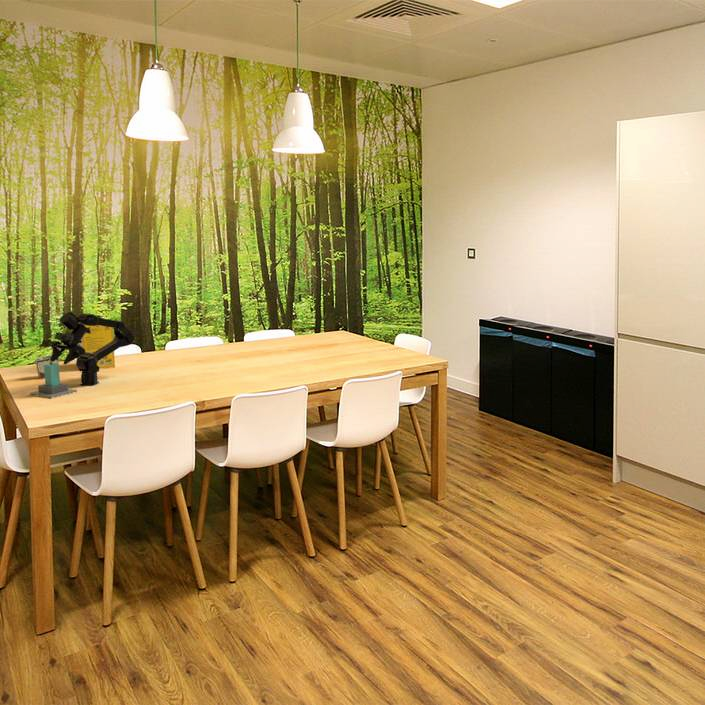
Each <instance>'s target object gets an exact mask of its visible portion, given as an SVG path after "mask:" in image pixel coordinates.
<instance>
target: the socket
mask: <svg viewBox="0 0 705 705" xmlns="http://www.w3.org/2000/svg"><path fill="white" fill-rule="evenodd" d="M68 385H69V383H65V382H63V383H62V382H60V385H57V386H53V387H50V386H45V383H44V384H40V385H37V386H38V387H37V389H38V390H35V391H31V392H29V395H30V394H32V395H31V396H34V395H38V396H37V397H40V396H44V397H43V398H45V397H49V398H48V399H53V398H52V397H55V398H58V397H57V396H59V397H62V396H61V395H63V396H66V395H65V394H67V395H70V394H69V393H71V394H74V393H73V392H75V393H77V392H78V390H77V389H76V388H75V389H73V388H69V386H68Z"/></svg>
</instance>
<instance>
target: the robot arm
mask: <svg viewBox="0 0 705 705" xmlns="http://www.w3.org/2000/svg"><path fill="white" fill-rule="evenodd" d="M103 318H104V317H103ZM103 318H102V317H99V315H95V314H94V313H93V314H92V313H85V312H83V313H80V314H79V315H78V316H76V315H75V314H74V312H72V311H68V312H66V313H64V314H63V315H61V317H60V318H59V322H60V324H62V325H63V327H65V328H66V329H68V330H70V332H67V331H66V332H57V331H56V332H55V335H54V337H53V338H54V340H52V341H51V342H50V343H49V346H50V347H51V349H52V353H51V355H50V356H51V360H50V361H55V360H56V359H57V358H58V357H59V358H60V357H61V355H63V353H64V352H65V350H67V351H68V353H67V356H66V357H65V359H64V361H63V362H62V363H63V365H67V364H69V363H70V362H72V361H74V360H76V361H75V365H76V367H77V368H78V370H79V372H81V374H80V380H81V383H80V385H81V386H95V385H97V384H99V383H100V381H98V372H100V370H101V369H100V367H99V366H98V365H97V363H98V361H99V360H101V359H102V358H104V357H105V356H107V355H109V354H110V353H112V352H113V351H114V352H115V351H116V350H118V349H119V348H123V347H126V346H127V347H128V346H130V345H132V344H133V343H134V340H135V336H134V334H133V333H132V332H131V330H130V329H129V328H128V327H127V326H126V325H125V322H123V321H121V320H113V319H107V318H105V319H103ZM84 325H87V326H97V325H100V326H106V327H112V328H113V335H114V336H113V341H111V342H110V343H108V344H106V345H105V346H103V347H102V348H100V349H98V350H97V351H95V352H94V353H87V352H85V349H84V348H83V347H82V346H80V345H79V343H82V341H81V339H82V338H83V336H84V335H85V333H88V334H90V333H91V332H90V328H86V327H85V326H84ZM78 357H79V358H78ZM77 358H78V359H77Z"/></svg>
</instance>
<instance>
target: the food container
mask: <svg viewBox="0 0 705 705" xmlns="http://www.w3.org/2000/svg"><path fill="white" fill-rule="evenodd" d="M51 356H52V355H48V356H47V355H46V356H40V357H36V358H35V360H34V364H35V365H36V369H37V370H36V371H37V375H38V379H39V378H40V379H39V380H42V379H41V378H44V379H45V373H44V365H46V364H50V360H51ZM59 361H60V356H59V357H58V358H57V359H56V360H55V361H53V363H54V364H59Z"/></svg>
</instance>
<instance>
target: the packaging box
mask: <svg viewBox="0 0 705 705" xmlns="http://www.w3.org/2000/svg"><path fill="white" fill-rule="evenodd" d="M103 319H106V318H105V317H103ZM84 326H85V327H86V328H90V332H91V333H90V334H88V333H85V335H84V336H83V338H82V339H81V341H82V343H79V345H80V346H82V347H83V348H84V349H85V352H87V353H94V352H95V351H97V350H98V349H100V348H102V347H103V346H105V345H106V344H108V343H110V342H111V341H113V340H114V329H113V328H112V327H106V326H100V325H97V326H87V325H84ZM78 358H79V357H78ZM78 358H76V360H77V359H78ZM97 365H98V366H99V367H100V368H105V369H111V368H110V367H114V368H116V362H115V351H113V352H112V353H110V354H109V355H107V356H105V357H104V358H102V359H101V360H99V361H98V363H97Z"/></svg>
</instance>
